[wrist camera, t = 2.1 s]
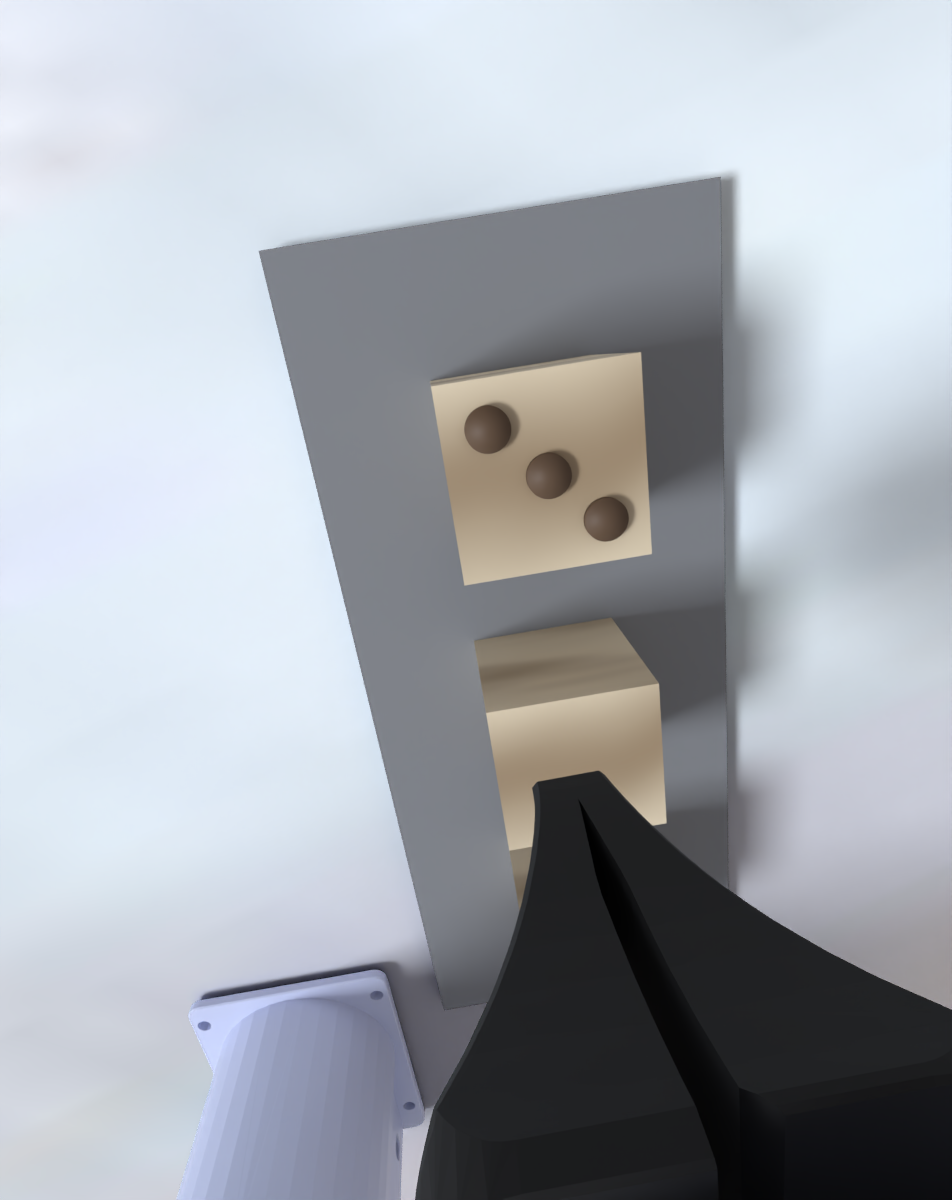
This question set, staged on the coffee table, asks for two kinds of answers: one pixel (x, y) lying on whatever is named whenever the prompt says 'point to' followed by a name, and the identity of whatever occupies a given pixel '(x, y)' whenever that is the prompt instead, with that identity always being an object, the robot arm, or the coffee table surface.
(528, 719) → the plain block
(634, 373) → the three pip block
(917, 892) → the coffee table surface
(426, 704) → the slate mat
